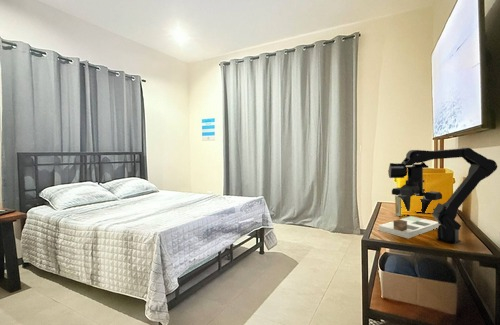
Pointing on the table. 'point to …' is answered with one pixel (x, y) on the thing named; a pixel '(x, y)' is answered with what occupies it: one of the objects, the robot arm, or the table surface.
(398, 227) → the walnut block
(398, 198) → the skincare box
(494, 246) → the table surface
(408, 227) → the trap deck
